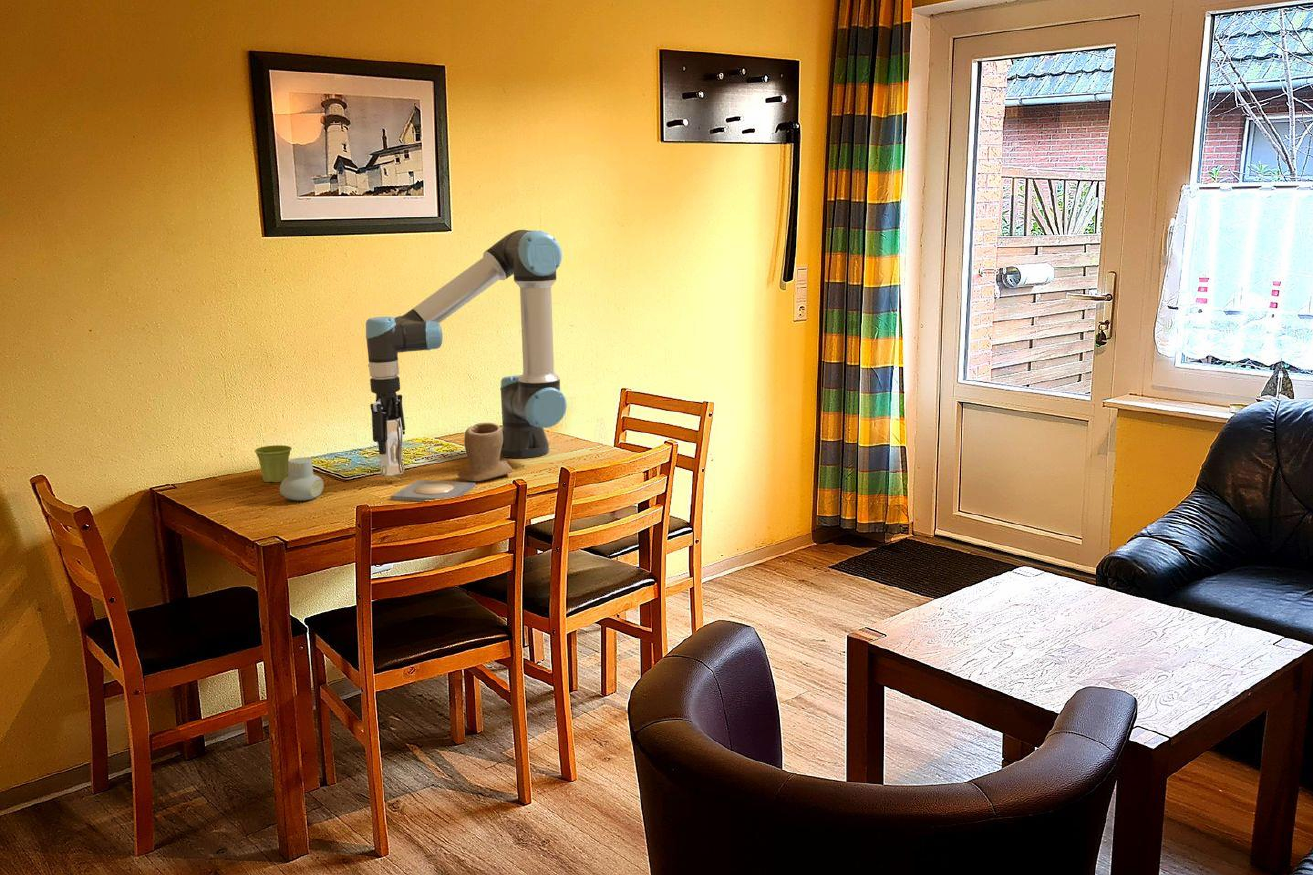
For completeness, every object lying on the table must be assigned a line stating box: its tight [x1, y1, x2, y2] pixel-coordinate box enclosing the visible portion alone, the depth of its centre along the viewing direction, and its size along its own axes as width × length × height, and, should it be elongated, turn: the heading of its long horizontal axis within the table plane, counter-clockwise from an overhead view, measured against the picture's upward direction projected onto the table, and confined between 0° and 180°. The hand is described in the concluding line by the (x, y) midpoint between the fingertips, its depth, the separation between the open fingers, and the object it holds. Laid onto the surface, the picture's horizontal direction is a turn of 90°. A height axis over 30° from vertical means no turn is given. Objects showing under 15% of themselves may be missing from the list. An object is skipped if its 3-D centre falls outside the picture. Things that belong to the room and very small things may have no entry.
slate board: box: [390, 479, 476, 502], centre depth 289 cm, size 16×16×1 cm
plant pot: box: [254, 444, 293, 483], centre depth 303 cm, size 9×9×9 cm
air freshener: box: [279, 457, 325, 502], centre depth 285 cm, size 11×8×10 cm
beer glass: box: [376, 416, 405, 477], centre depth 299 cm, size 7×7×15 cm
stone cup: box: [457, 422, 514, 482], centre depth 302 cm, size 15×12×15 cm
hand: (391, 462), depth 300 cm, fingers closed on beer glass, 6 cm apart
